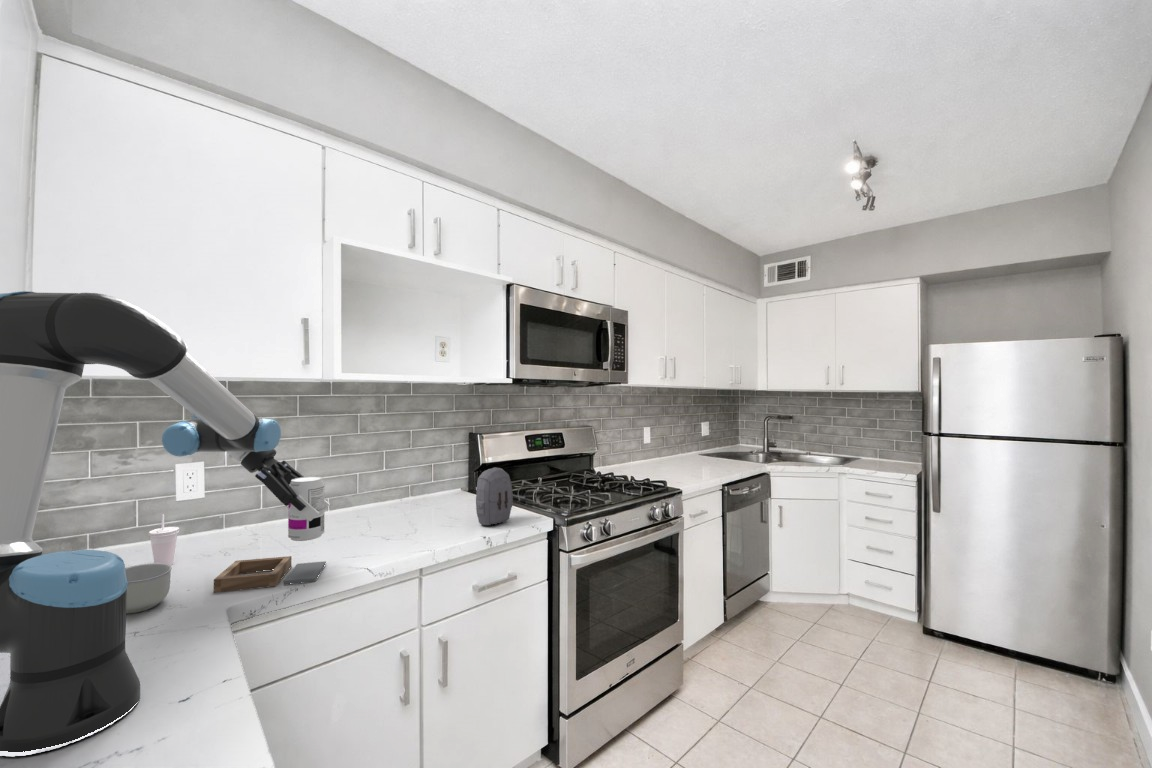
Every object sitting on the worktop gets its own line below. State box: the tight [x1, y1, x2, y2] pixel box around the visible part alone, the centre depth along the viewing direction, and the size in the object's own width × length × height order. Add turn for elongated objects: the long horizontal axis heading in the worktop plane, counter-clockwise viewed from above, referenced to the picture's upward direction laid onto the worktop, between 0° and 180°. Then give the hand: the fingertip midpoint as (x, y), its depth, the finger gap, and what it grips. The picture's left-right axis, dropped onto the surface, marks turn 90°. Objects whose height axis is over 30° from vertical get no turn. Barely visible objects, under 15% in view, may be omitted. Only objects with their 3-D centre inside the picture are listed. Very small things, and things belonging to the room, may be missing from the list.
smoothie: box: [148, 513, 180, 567], centre depth 132 cm, size 6×6×14 cm
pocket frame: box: [213, 555, 292, 593], centre depth 123 cm, size 13×13×3 cm
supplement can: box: [287, 476, 326, 542], centre depth 126 cm, size 8×8×15 cm
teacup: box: [125, 562, 173, 614], centre depth 106 cm, size 14×11×8 cm
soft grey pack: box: [475, 467, 514, 526], centre depth 173 cm, size 15×8×20 cm, turn 142°
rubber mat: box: [282, 560, 327, 585], centre depth 126 cm, size 12×7×1 cm, turn 16°
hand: (320, 512), depth 127 cm, fingers closed on supplement can, 8 cm apart
